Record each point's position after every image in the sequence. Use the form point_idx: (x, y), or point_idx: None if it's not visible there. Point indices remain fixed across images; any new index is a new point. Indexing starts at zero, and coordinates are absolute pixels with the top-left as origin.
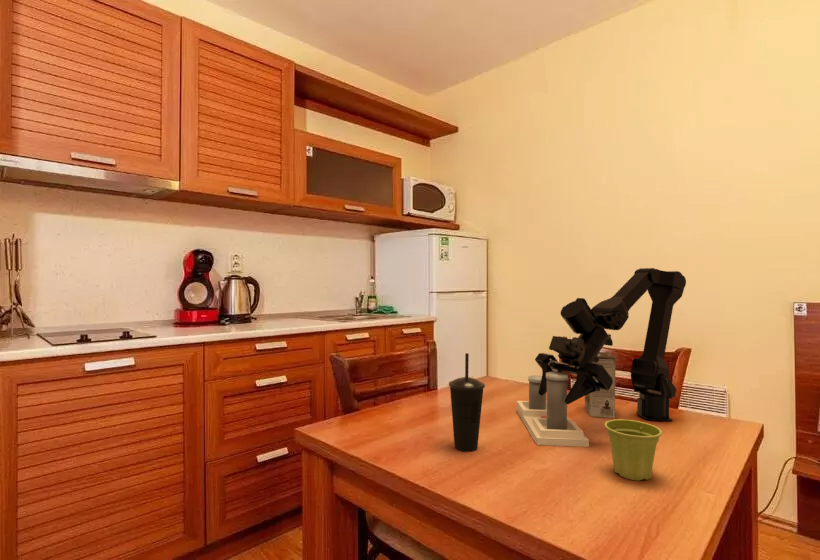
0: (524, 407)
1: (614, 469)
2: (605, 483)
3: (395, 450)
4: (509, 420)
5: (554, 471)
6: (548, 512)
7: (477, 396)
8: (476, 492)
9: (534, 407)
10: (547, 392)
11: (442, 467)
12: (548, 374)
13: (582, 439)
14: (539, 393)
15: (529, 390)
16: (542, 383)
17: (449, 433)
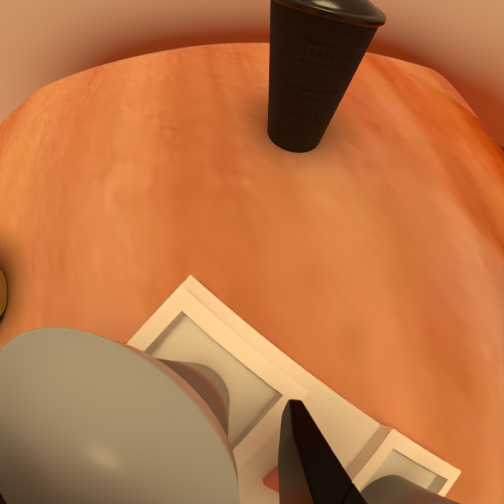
0: (409, 453)
1: (3, 275)
2: (12, 218)
3: None
4: (406, 390)
5: (86, 182)
6: (66, 100)
7: (270, 13)
8: (155, 67)
9: (386, 486)
10: (188, 371)
11: (243, 71)
12: (119, 366)
13: None
14: (289, 400)
15: (445, 498)
16: (312, 458)
17: (385, 167)
